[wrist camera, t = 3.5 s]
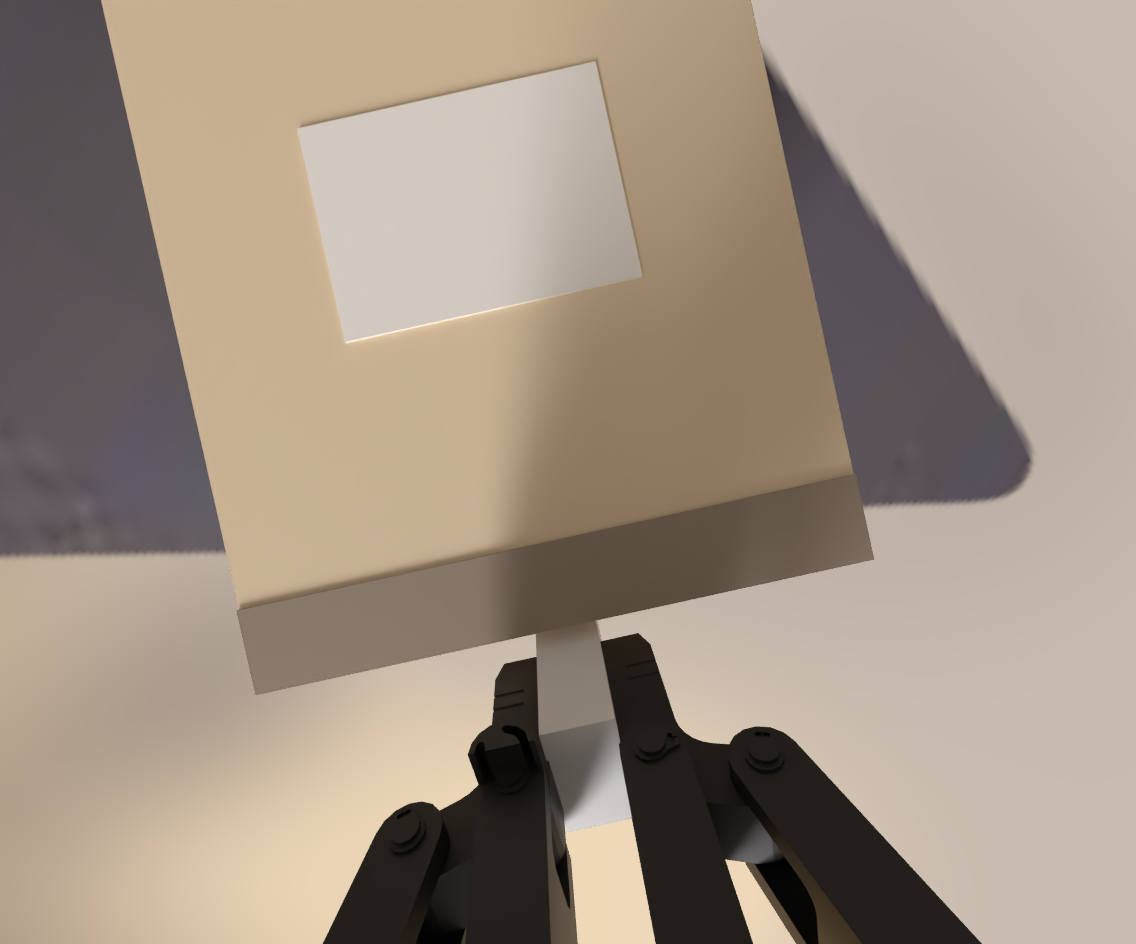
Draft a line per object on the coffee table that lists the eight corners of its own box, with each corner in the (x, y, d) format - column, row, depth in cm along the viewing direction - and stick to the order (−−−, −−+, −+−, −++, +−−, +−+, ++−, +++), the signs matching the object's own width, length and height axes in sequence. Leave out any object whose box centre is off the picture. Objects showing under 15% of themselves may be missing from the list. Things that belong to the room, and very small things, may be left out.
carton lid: (87, -157, 14) (53, -201, 13) (671, -290, 13) (678, -344, 13) (276, 680, 14) (255, 695, 13) (854, 553, 14) (873, 559, 13)
